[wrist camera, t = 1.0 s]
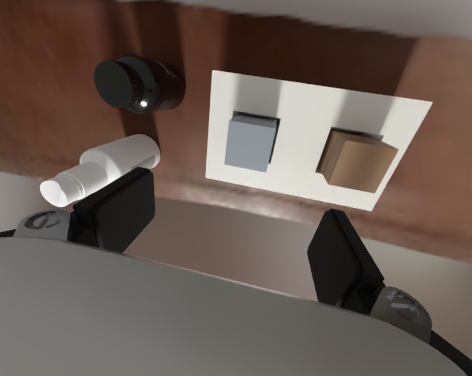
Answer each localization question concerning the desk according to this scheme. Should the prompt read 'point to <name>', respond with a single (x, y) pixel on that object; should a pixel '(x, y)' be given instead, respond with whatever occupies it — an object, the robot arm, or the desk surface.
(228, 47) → the desk surface
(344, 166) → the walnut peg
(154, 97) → the supplement bottle
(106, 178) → the spray bottle
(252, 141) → the slate peg
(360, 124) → the peg board
